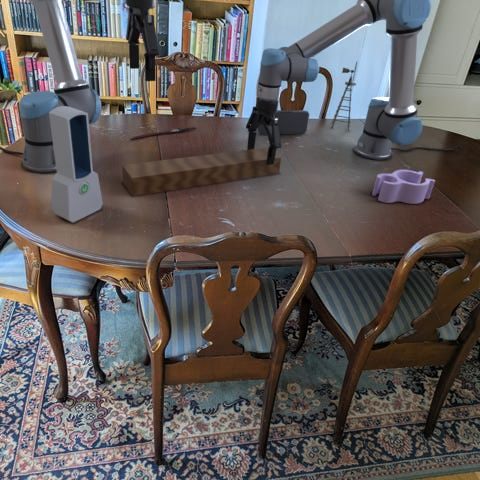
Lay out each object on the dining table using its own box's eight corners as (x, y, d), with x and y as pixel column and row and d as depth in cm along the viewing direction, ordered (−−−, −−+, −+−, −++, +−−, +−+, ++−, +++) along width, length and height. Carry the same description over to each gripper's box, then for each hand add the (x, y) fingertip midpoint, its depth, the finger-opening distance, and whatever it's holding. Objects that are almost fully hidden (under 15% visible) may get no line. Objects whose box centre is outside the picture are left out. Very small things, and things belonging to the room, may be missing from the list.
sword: (193, 127, 202) (193, 124, 201) (196, 129, 200) (196, 126, 199) (126, 139, 186) (126, 136, 185) (130, 142, 184) (130, 139, 183)
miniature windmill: (349, 131, 218) (364, 64, 201) (331, 128, 219) (344, 61, 202) (349, 124, 225) (363, 60, 209) (331, 122, 226) (344, 57, 210)
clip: (385, 206, 156) (390, 187, 152) (365, 189, 166) (370, 171, 162) (433, 201, 162) (440, 184, 158) (412, 185, 172) (417, 168, 168)
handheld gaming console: (303, 131, 211) (307, 109, 206) (306, 133, 209) (310, 111, 204) (256, 132, 204) (259, 110, 199) (258, 135, 202) (261, 112, 197)
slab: (132, 196, 146) (131, 178, 143) (123, 183, 153) (122, 165, 150) (278, 173, 171) (281, 157, 167) (264, 162, 178) (267, 147, 174)
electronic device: (70, 224, 129) (57, 118, 113) (51, 215, 132) (36, 111, 116) (103, 208, 138) (96, 107, 122) (85, 200, 141) (76, 101, 125)
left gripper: (172, -3, 114) (171, 85, 126) (138, -15, 132) (140, 63, 143) (142, -4, 111) (144, 87, 122) (112, -17, 129) (116, 64, 140)
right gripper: (240, 88, 165) (234, 144, 176) (278, 110, 147) (269, 172, 158) (258, 87, 168) (251, 143, 179) (297, 109, 150) (287, 169, 162)
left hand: (142, 74), depth 133 cm, fingers open, 13 cm apart
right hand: (259, 156), depth 169 cm, fingers open, 13 cm apart
